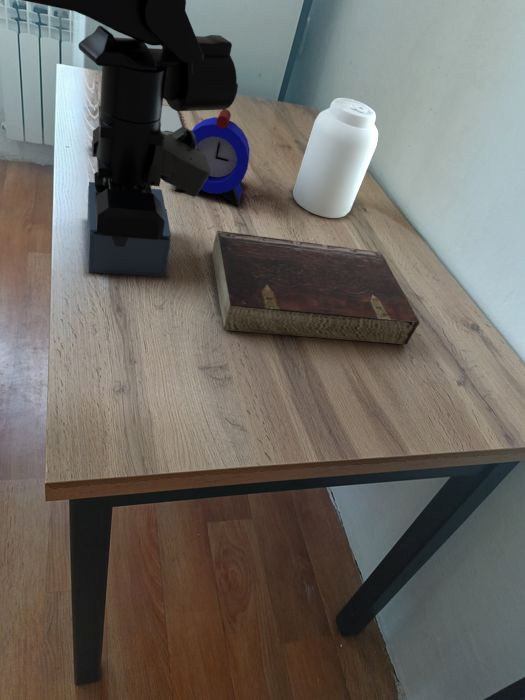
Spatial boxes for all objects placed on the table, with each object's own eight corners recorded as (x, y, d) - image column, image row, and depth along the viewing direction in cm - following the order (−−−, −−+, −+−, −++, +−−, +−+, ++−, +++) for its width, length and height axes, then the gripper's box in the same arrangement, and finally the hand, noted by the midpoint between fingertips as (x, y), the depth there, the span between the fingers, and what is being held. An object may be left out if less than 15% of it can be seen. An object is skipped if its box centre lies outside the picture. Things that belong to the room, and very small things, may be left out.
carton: (165, 276, 81) (171, 236, 76) (88, 272, 77) (89, 229, 73) (156, 228, 90) (161, 189, 85) (87, 222, 86) (88, 181, 81)
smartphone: (177, 107, 126) (186, 135, 116) (176, 109, 127) (185, 138, 117) (145, 101, 124) (151, 130, 114) (144, 104, 124) (151, 133, 114)
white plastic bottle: (346, 195, 117) (382, 102, 103) (352, 225, 107) (392, 127, 94) (291, 181, 115) (320, 85, 101) (291, 211, 106) (324, 108, 92)
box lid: (170, 237, 77) (170, 236, 76) (90, 231, 73) (90, 229, 73) (166, 210, 80) (166, 208, 80) (89, 203, 77) (89, 201, 77)
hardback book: (370, 272, 97) (381, 249, 93) (405, 346, 84) (419, 322, 80) (211, 253, 88) (217, 227, 85) (223, 331, 76) (230, 304, 72)
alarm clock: (173, 192, 99) (185, 111, 89) (184, 164, 108) (196, 87, 98) (238, 208, 101) (257, 131, 91) (243, 179, 110) (261, 105, 100)
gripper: (230, 167, 48) (200, 300, 59) (198, 87, 61) (178, 208, 71) (101, 151, 45) (93, 296, 55) (95, 69, 57) (90, 200, 67)
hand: (119, 245), depth 62 cm, fingers closed
